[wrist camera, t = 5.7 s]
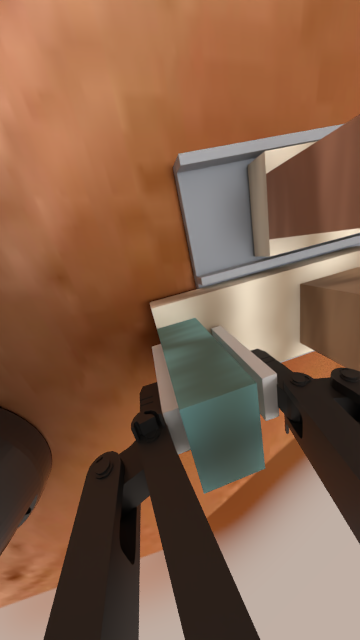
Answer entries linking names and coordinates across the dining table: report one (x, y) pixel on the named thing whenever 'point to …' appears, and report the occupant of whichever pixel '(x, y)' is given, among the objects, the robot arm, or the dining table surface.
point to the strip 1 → (306, 192)
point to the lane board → (234, 210)
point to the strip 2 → (222, 369)
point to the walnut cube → (332, 317)
